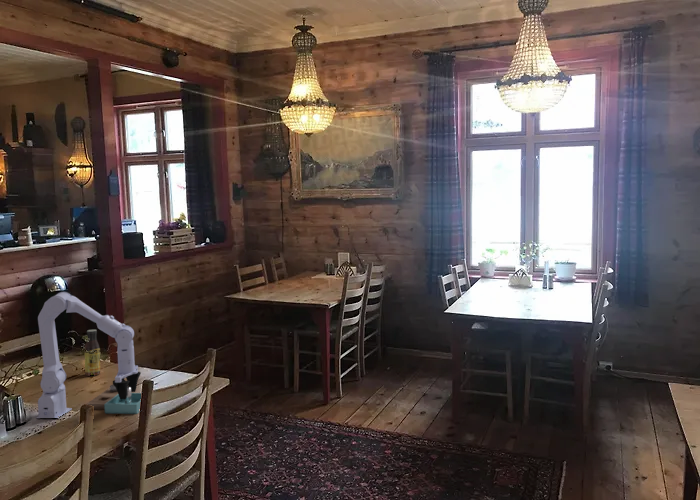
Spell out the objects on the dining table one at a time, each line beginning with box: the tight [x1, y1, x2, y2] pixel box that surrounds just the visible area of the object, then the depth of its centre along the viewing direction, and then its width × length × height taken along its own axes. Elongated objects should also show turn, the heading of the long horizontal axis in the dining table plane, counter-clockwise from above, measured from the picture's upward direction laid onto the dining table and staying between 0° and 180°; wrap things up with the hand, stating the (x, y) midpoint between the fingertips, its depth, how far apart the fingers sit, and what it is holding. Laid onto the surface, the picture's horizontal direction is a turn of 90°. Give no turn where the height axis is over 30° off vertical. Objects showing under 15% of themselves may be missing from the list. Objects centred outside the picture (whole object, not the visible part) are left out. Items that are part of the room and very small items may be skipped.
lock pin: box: [125, 387, 132, 404], centre depth 212 cm, size 2×2×7 cm
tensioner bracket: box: [86, 384, 118, 410], centre depth 219 cm, size 18×8×5 cm, turn 176°
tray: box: [104, 392, 142, 415], centre depth 212 cm, size 12×12×4 cm
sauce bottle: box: [84, 329, 101, 377], centre depth 251 cm, size 7×6×20 cm
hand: (127, 395), depth 212 cm, fingers open, 7 cm apart
